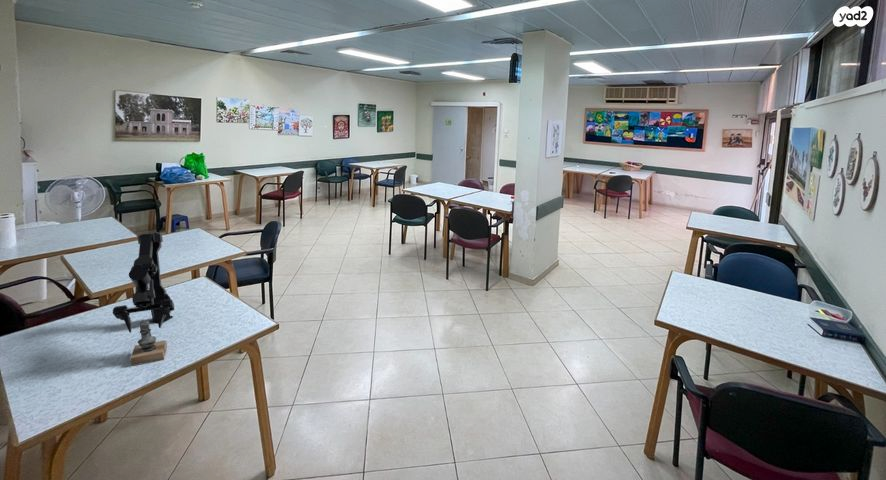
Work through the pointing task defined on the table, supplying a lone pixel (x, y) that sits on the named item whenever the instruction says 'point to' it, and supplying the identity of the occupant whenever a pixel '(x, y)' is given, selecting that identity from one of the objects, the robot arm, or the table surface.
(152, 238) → the robot arm
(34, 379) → the table surface
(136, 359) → the walnut pedestal
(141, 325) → the grey chess bishop
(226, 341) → the table surface
